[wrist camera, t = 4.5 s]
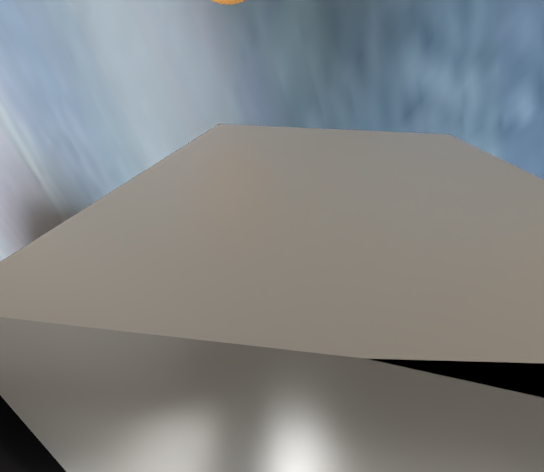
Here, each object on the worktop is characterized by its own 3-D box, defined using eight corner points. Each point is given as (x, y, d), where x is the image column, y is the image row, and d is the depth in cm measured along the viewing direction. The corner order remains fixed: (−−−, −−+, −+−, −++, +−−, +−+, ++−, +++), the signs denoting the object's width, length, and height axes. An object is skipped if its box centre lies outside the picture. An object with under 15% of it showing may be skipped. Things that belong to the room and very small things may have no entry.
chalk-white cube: (391, 305, 13) (500, 621, 6) (230, 289, 14) (137, 554, 6) (449, 134, 9) (1083, 439, 2) (218, 123, 10) (-75, 308, 2)
